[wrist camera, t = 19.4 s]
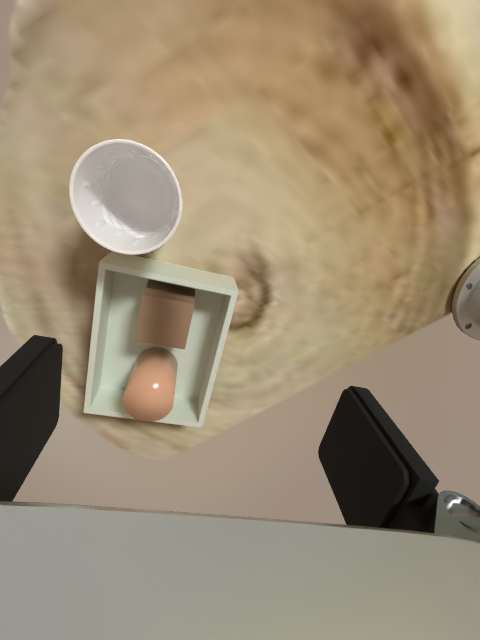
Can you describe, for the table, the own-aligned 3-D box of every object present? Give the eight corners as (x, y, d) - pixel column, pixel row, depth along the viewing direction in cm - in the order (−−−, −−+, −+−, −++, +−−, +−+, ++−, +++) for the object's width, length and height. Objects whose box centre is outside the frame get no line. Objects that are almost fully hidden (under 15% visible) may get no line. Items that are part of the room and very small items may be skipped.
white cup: (193, 227, 35) (191, 245, 26) (118, 239, 35) (90, 263, 26) (176, 143, 32) (168, 130, 23) (93, 156, 32) (51, 148, 22)
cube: (194, 288, 37) (194, 304, 33) (186, 329, 39) (184, 349, 34) (149, 279, 36) (142, 294, 32) (142, 321, 38) (134, 341, 33)
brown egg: (174, 385, 42) (170, 423, 35) (133, 380, 41) (121, 419, 34) (180, 350, 40) (176, 384, 33) (137, 344, 39) (124, 378, 33)
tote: (233, 277, 38) (238, 291, 33) (201, 401, 44) (202, 427, 39) (111, 250, 35) (98, 261, 31) (96, 386, 41) (83, 412, 37)
